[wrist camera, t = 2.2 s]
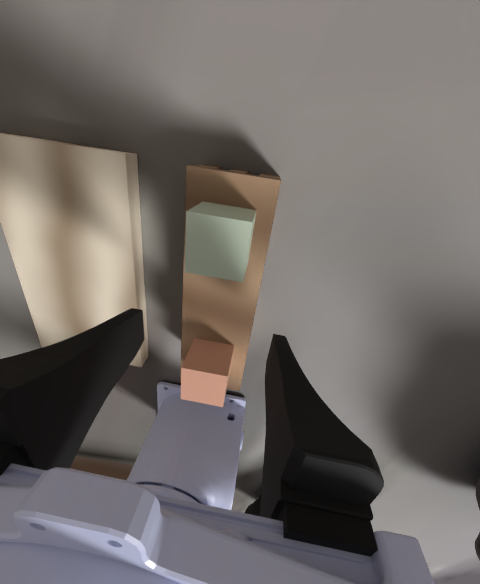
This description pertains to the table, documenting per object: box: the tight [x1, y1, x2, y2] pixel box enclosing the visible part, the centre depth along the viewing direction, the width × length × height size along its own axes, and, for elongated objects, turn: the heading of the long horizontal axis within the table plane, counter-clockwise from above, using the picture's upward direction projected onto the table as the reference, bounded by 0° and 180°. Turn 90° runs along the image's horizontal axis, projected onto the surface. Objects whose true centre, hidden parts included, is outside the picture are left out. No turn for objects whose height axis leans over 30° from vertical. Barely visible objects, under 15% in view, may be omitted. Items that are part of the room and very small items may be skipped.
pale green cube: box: [185, 201, 257, 282], centre depth 13 cm, size 3×3×3 cm
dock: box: [0, 132, 149, 367], centre depth 20 cm, size 10×18×2 cm, turn 172°
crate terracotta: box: [181, 338, 234, 407], centre depth 18 cm, size 3×3×3 cm
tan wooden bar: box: [180, 164, 281, 391], centre depth 18 cm, size 16×5×4 cm, turn 172°
